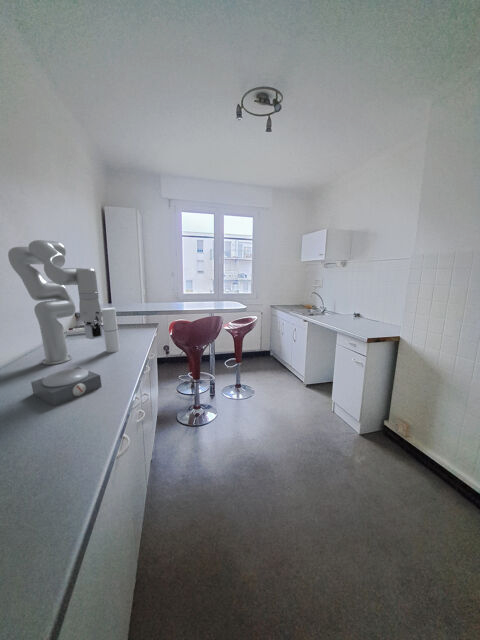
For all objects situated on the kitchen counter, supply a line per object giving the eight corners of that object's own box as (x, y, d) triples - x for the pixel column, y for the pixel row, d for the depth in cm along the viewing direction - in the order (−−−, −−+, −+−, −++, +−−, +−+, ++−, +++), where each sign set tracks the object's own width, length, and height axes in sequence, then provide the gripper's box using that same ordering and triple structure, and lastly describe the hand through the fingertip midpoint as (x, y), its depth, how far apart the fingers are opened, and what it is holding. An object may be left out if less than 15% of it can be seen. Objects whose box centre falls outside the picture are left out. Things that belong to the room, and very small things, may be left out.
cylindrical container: (106, 353, 143) (101, 310, 138) (106, 349, 150) (101, 308, 145) (120, 351, 147) (115, 309, 142) (119, 347, 153) (115, 307, 148)
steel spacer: (85, 337, 116) (84, 325, 115) (96, 335, 120) (94, 323, 119) (91, 339, 113) (90, 326, 112) (102, 336, 118) (101, 324, 116)
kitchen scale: (33, 393, 97) (30, 379, 96) (79, 377, 111) (77, 364, 110) (55, 406, 88) (52, 390, 87) (102, 386, 102) (100, 373, 101)
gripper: (70, 296, 114) (75, 334, 118) (91, 298, 105) (96, 340, 109) (87, 294, 120) (91, 331, 124) (108, 296, 112) (112, 336, 115)
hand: (93, 335), depth 117 cm, fingers closed on steel spacer, 5 cm apart
